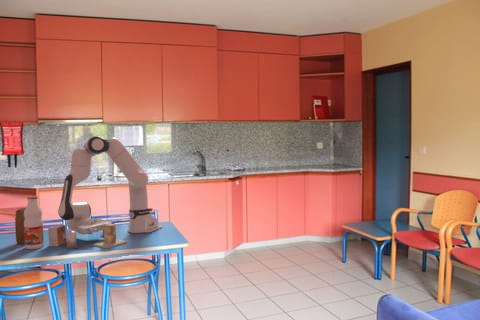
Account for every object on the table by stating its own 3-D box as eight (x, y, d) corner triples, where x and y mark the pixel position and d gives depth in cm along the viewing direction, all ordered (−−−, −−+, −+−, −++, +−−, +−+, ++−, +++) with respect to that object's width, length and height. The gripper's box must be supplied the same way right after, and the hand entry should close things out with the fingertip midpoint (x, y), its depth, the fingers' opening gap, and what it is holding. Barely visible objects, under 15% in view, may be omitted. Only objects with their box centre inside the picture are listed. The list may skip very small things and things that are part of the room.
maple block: (110, 241, 236) (110, 223, 236) (116, 242, 234) (115, 224, 233) (104, 242, 232) (103, 225, 232) (109, 243, 230) (109, 226, 229)
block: (28, 245, 234) (27, 209, 232) (14, 245, 233) (13, 210, 232) (36, 240, 244) (35, 206, 243) (23, 240, 244) (21, 206, 243)
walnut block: (109, 232, 261) (109, 221, 261) (114, 233, 259) (114, 222, 258) (102, 234, 257) (102, 223, 257) (108, 235, 255) (107, 224, 254)
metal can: (73, 246, 230) (72, 230, 229) (78, 247, 227) (78, 231, 227) (64, 248, 226) (64, 231, 225) (70, 249, 223) (69, 233, 222)
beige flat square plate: (113, 240, 242) (113, 238, 242) (127, 242, 236) (127, 241, 236) (92, 245, 231) (92, 243, 231) (107, 248, 224) (107, 246, 224)
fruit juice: (47, 245, 231) (45, 195, 229) (33, 250, 222) (31, 198, 221) (35, 244, 235) (33, 195, 233) (20, 248, 226) (18, 197, 224)
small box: (57, 246, 229) (56, 227, 228) (48, 246, 230) (47, 227, 230) (66, 243, 237) (65, 224, 236) (57, 242, 238) (56, 224, 237)
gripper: (72, 224, 234) (88, 227, 226) (102, 218, 251) (117, 220, 244) (72, 235, 234) (88, 238, 227) (102, 228, 251) (118, 231, 244)
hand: (104, 229), depth 235 cm, fingers open, 8 cm apart
